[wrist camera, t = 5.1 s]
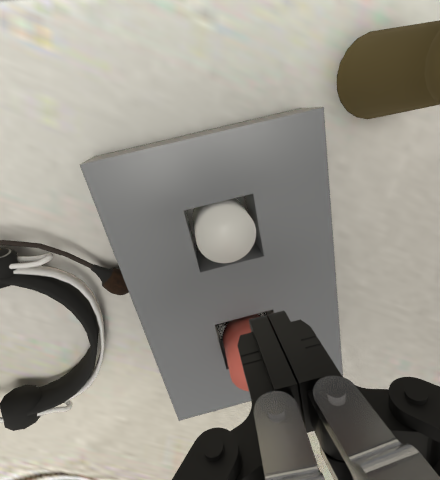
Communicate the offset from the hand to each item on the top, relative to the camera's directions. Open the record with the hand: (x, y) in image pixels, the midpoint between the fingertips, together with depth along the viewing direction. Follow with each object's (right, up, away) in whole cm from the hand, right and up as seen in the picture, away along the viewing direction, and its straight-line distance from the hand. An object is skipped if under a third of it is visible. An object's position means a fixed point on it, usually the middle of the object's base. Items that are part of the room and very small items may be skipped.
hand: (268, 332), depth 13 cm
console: (-1, +1, +15) cm, 15 cm away
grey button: (-2, +6, +13) cm, 15 cm away
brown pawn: (+10, +16, +11) cm, 22 cm away
